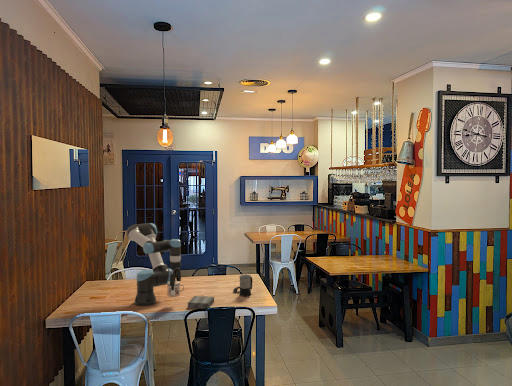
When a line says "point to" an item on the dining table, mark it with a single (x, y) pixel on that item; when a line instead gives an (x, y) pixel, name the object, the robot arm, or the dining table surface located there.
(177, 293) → the teacup with lid
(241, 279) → the milk frother
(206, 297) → the grey stand
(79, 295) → the dining table surface
